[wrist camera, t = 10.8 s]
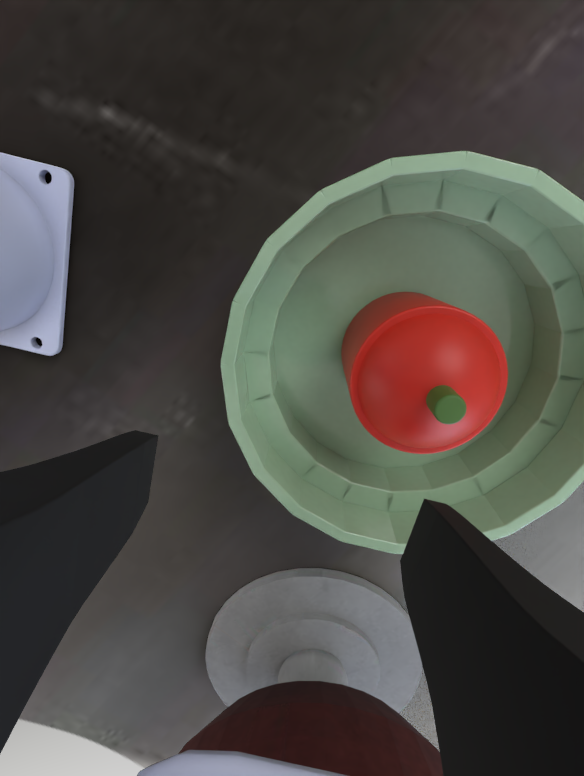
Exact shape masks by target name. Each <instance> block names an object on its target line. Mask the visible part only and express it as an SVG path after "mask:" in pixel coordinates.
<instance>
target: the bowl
mask: <svg viewBox="0 0 584 776" xmlns="http://www.w3.org/2000/svg"><path fill="white" fill-rule="evenodd" d="M395 292H416V293H421V294H424V295H427V296H430V297H432V298H435V299H437V300H440V301H442V302H445V303H447V304H450V305H452V306H455V307H458V308H460V309H463V310H465V311H467V312H469V313H471V314H473V315H475V316H476V317H478V318H479V319H481V320H482V321H483V322H484V323H486V324H487V325H488V326H489V327H490V328H491V329H492V331H493V332H494V333H495V334H496V336H497V338H498V339H499V341H500V343H501V345H502V347H503V350H504V352H505V356H506V360H507V367H508V382H507V388H506V393H505V396H504V399H503V402H502V404H501V406H500V408H499V410H498V412H497V413H496V415H495V416H494V418H493V419H492V420H491V422H490V423H489V424H488V425H487V426H486V427H485V428H484V429H483V430H482V431H481V432H480V433H479V434H478V435H476V436H475V437H474V438H472V439H471V440H469V441H468V442H466V443H464V444H462V445H460V446H458V447H456V448H453V449H450V450H447V451H444V452H439V453H433V454H413V453H408V452H403V451H399V450H396V449H393V448H391V447H389V446H387V445H385V444H383V443H382V442H380V441H378V440H377V439H376V438H375V437H373V436H372V435H371V434H370V433H369V432H368V431H367V430H366V429H365V428H364V426H363V425H362V424H361V422H360V421H359V419H358V417H357V415H356V413H355V411H354V408H353V405H352V402H351V398H350V394H349V390H348V386H347V382H346V378H345V373H344V369H343V365H342V356H341V351H342V343H343V338H344V335H345V333H346V330H347V328H348V326H349V324H350V323H351V321H352V320H353V318H354V317H355V316H356V314H357V313H358V312H359V311H360V310H361V309H362V308H363V307H365V306H366V305H367V304H369V303H370V302H372V301H373V300H375V299H377V298H379V297H381V296H384V295H387V294H391V293H395ZM220 367H221V374H222V381H223V389H224V396H225V404H226V411H227V418H228V423H229V426H230V428H231V430H232V432H233V434H234V436H235V438H236V440H237V442H238V444H239V446H240V448H241V450H242V452H243V454H244V457H245V459H246V461H247V463H248V465H249V467H250V469H251V471H252V473H253V474H254V476H255V477H256V478H257V479H258V480H259V481H260V482H261V483H262V484H263V485H264V486H265V487H266V488H267V489H268V490H269V491H270V492H271V493H272V494H273V495H274V496H275V497H276V498H277V500H278V501H279V502H280V503H281V504H282V505H283V506H284V507H285V508H286V509H287V510H288V511H289V512H290V513H291V514H293V515H294V516H296V517H297V518H299V519H301V520H303V521H305V522H306V523H308V524H310V525H312V526H314V527H315V528H317V529H319V530H321V531H323V532H324V533H326V534H328V535H330V536H332V537H333V538H335V539H337V540H339V541H341V542H345V543H349V544H353V545H357V546H362V547H366V548H370V549H375V550H379V551H383V552H388V553H392V554H403V553H404V550H405V547H406V545H407V542H408V539H409V537H410V534H411V532H412V529H413V526H414V524H415V521H416V518H417V516H418V513H419V511H420V508H421V505H422V503H423V500H424V499H428V500H432V501H437V502H441V503H445V504H447V505H449V506H450V507H452V508H453V509H455V510H456V511H457V512H458V513H460V514H461V515H462V516H463V517H464V518H466V519H467V520H468V521H469V522H470V523H471V524H473V525H474V526H475V527H476V528H477V529H478V530H480V531H481V532H482V533H483V534H484V535H485V536H486V537H488V538H489V539H490V540H491V541H492V540H496V539H499V538H502V537H506V536H509V535H510V534H513V533H514V532H516V531H518V530H519V529H521V528H523V527H524V526H526V525H527V524H529V523H531V522H532V521H534V520H536V519H537V518H539V517H541V516H542V515H544V514H546V513H547V512H549V511H550V510H552V509H554V508H555V507H557V506H559V505H560V504H562V502H564V501H565V500H566V499H567V498H568V497H569V496H570V495H571V494H572V493H573V492H574V491H575V490H576V489H577V487H578V486H579V485H580V484H581V483H582V482H583V481H584V201H583V200H581V199H580V198H578V197H577V196H576V195H574V194H573V193H572V192H570V191H569V190H567V189H566V188H565V187H563V186H562V185H560V184H559V183H558V182H556V181H555V180H553V179H552V178H551V177H549V176H548V175H547V174H545V173H544V172H542V171H541V170H538V169H537V168H533V167H529V166H525V165H521V164H518V163H514V162H510V161H506V160H502V159H498V158H494V157H490V156H486V155H483V154H479V153H475V152H471V151H454V152H444V153H434V154H424V155H414V156H404V157H394V158H390V159H386V160H384V161H382V162H380V163H378V164H375V165H373V166H371V167H369V168H367V169H364V170H362V171H360V172H358V173H356V174H354V175H351V176H349V177H347V178H345V179H343V180H340V181H338V182H336V183H334V184H332V185H329V186H327V187H325V188H323V189H321V191H318V192H317V193H316V194H315V195H314V196H313V197H312V198H311V199H310V200H308V201H307V202H306V203H305V204H304V205H303V206H302V207H301V208H300V209H299V210H298V211H297V212H296V213H294V214H293V215H292V216H291V217H290V218H289V219H288V220H287V221H286V222H285V223H284V224H283V225H281V226H280V227H279V228H278V229H277V230H276V231H275V232H274V233H273V234H272V235H271V236H270V237H269V238H267V241H265V242H264V244H263V246H262V248H261V250H260V251H259V253H258V255H257V257H256V259H255V260H254V262H253V264H252V266H251V268H250V269H249V271H248V273H247V275H246V277H245V278H244V280H243V282H242V284H241V286H240V287H239V289H238V291H237V293H236V295H235V296H234V298H233V301H232V304H231V309H230V315H229V320H228V325H227V330H226V336H225V341H224V346H223V351H222V356H221V365H220Z"/></svg>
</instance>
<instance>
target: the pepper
mask: <svg viewBox="0 0 584 776" xmlns="http://www.w3.org/2000/svg"><path fill="white" fill-rule="evenodd" d="M341 356H342V365H343V369H344V373H345V378H346V382H347V386H348V390H349V394H350V398H351V402H352V405H353V408H354V411H355V413H356V415H357V417H358V419H359V421H360V422H361V424H362V425H363V426H364V428H365V429H366V430H367V431H368V432H369V433H370V434H371V435H372V436H373V437H375V438H376V439H377V440H378V441H380V442H382V443H383V444H385V445H387V446H389V447H391V448H393V449H396V450H399V451H403V452H408V453H413V454H433V453H439V452H444V451H447V450H450V449H453V448H456V447H458V446H460V445H462V444H464V443H466V442H468V441H469V440H471V439H472V438H474V437H475V436H476V435H478V434H479V433H480V432H481V431H482V430H483V429H484V428H485V427H486V426H487V425H488V424H489V423H490V422H491V420H492V419H493V418H494V416H495V415H496V413H497V412H498V410H499V408H500V406H501V404H502V402H503V399H504V396H505V393H506V388H507V382H508V367H507V360H506V356H505V352H504V350H503V347H502V345H501V343H500V341H499V339H498V338H497V336H496V334H495V333H494V332H493V331H492V329H491V328H490V327H489V326H488V325H487V324H486V323H484V322H483V321H482V320H481V319H479V318H478V317H476V316H475V315H473V314H471V313H469V312H467V311H465V310H463V309H460V308H458V307H455V306H452V305H450V304H447V303H445V302H442V301H440V300H437V299H435V298H432V297H430V296H427V295H424V294H421V293H416V292H395V293H391V294H387V295H384V296H381V297H379V298H377V299H375V300H373V301H372V302H370V303H369V304H367V305H366V306H365V307H363V308H362V309H361V310H360V311H359V312H358V313H357V314H356V316H355V317H354V318H353V320H352V321H351V323H350V324H349V326H348V328H347V330H346V333H345V335H344V338H343V343H342V351H341Z"/></svg>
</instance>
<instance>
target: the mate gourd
mask: <svg viewBox="0 0 584 776" xmlns="http://www.w3.org/2000/svg"><path fill="white" fill-rule="evenodd" d="M205 658H206V665H207V672H208V675H209V678H210V680H211V683H212V685H213V688H214V689H215V691H216V692H217V694H218V695H219V697H220V698H221V700H222V701H223V702H224V703H225V704H226V705H227V706H228V708H227V709H226V710H224V711H223V712H222V713H221V714H220V715H219V716H217V717H216V718H215V719H214V720H213V721H212V722H211V723H209V724H208V725H207V726H206V727H205V728H204V729H202V730H201V731H200V732H199V733H198V734H197V735H196V736H194V737H193V738H192V739H191V740H190V741H189V742H187V743H186V745H185V746H184V747H183V748H182V750H181V751H180V752H179V754H180V753H182V752H185V751H187V750H212V751H238V752H242V753H247V754H252V755H256V756H261V757H265V758H270V759H274V760H279V761H284V762H288V763H293V764H297V765H302V766H306V767H311V768H315V769H320V770H325V771H329V772H334V773H338V774H343V775H347V776H443V770H442V763H441V756H440V752H439V751H438V750H437V749H436V748H435V747H434V746H433V745H432V744H431V743H430V742H429V741H428V740H427V739H426V738H425V737H423V736H422V735H421V734H420V733H419V732H418V731H417V730H416V729H415V728H414V727H413V726H412V725H411V724H409V723H408V722H407V721H406V720H405V719H404V718H403V717H402V716H401V715H400V714H399V713H400V712H401V711H402V710H403V709H404V708H405V707H406V706H407V705H408V704H409V702H410V700H411V699H412V697H413V696H414V694H415V692H416V691H417V688H418V685H419V682H420V679H421V676H422V661H421V658H420V654H419V650H418V647H417V643H416V639H415V635H414V632H413V628H412V624H411V620H410V617H409V615H408V614H407V613H406V611H405V610H404V609H403V608H402V607H401V605H400V604H399V603H398V602H397V601H396V600H395V599H394V598H393V597H391V596H390V595H389V594H388V593H387V592H385V591H384V590H383V589H382V588H380V587H378V586H376V585H374V584H372V583H371V582H369V581H367V580H365V579H363V578H360V577H357V576H354V575H351V574H348V573H345V572H342V571H336V570H329V569H323V568H296V569H290V570H285V571H279V572H275V573H272V574H269V575H266V576H264V577H261V578H258V579H256V580H254V581H252V582H251V583H249V584H247V585H246V586H244V587H242V588H240V589H239V590H238V591H237V592H236V593H235V594H233V595H232V596H231V597H230V598H229V599H228V600H227V601H226V602H225V603H224V605H223V606H222V608H221V609H220V610H219V612H218V613H217V615H216V616H215V619H214V622H213V624H212V627H211V629H210V632H209V636H208V639H207V647H206V655H205Z"/></svg>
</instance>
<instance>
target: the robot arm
mask: <svg viewBox="0 0 584 776" xmlns="http://www.w3.org/2000/svg"><path fill="white" fill-rule="evenodd" d="M47 172H50V174H51V176H52V180H51V183H49V184H47V182H46V181H45V175H46V173H47ZM73 196H74V179H73V177H72V174H71V173H70V172H69V171H68V170H65V169H63V168H60V167H57V166H53V165H49V164H45V163H41V162H37V161H33V160H29V159H25V158H21V157H17V156H13V155H9V154H5V153H1V152H0V344H1V345H5V346H9V347H13V348H18V349H22V350H26V351H30V352H34V353H38V354H43V355H47V356H52V355H55V354H57V353H59V352H60V351H61V350H62V346H63V333H64V319H65V305H66V292H67V278H68V264H69V251H70V237H71V223H72V210H73ZM37 337H38V338H40V340H41V341H42V347H41V346H39V345H38V344H37V342H36V338H37ZM157 441H158V436H157V435H153V434H149V433H145V432H140V431H136V430H135V431H131V432H127V433H124V434H121V435H119V436H116V437H113V438H110V439H108V440H105V441H102V442H100V443H97V444H94V445H91V446H88V447H86V448H83V449H80V450H77V451H74V452H71V453H68V454H65V455H62V456H59V457H55V458H52V459H49V460H46V461H43V462H39V463H36V464H32V465H29V466H25V467H21V468H17V469H13V470H8V471H4V472H0V753H1V751H2V749H3V747H4V745H5V743H6V742H7V740H8V738H9V736H10V734H11V732H12V730H13V728H14V726H15V724H16V722H17V720H18V718H19V716H20V714H21V713H22V711H23V709H24V707H25V705H26V703H27V701H28V700H29V698H30V696H31V694H32V692H33V690H34V688H35V687H36V685H37V683H38V681H39V679H40V677H41V676H42V674H43V672H44V670H45V668H46V666H47V664H48V663H49V661H50V659H51V657H52V656H53V654H54V652H55V650H56V648H57V647H58V645H59V643H60V641H61V640H62V638H63V636H64V634H65V632H66V631H67V629H68V627H69V625H70V624H71V622H72V620H73V619H74V617H75V616H76V614H77V613H78V611H79V609H80V608H81V606H82V605H83V603H84V602H85V601H86V599H87V598H88V596H89V595H90V593H91V592H92V591H93V589H94V588H95V586H96V585H97V583H98V582H99V581H100V579H101V578H102V576H103V575H104V573H105V572H106V571H107V569H108V568H109V566H110V565H111V563H112V562H113V561H114V559H115V558H116V556H117V555H118V553H119V552H120V550H121V549H122V548H123V546H124V545H125V543H126V542H127V540H128V539H129V537H130V536H131V534H132V533H133V531H134V529H135V527H136V525H137V523H138V521H139V519H140V517H141V515H142V513H143V511H144V509H145V507H146V505H147V503H148V499H149V493H150V486H151V480H152V473H153V467H154V460H155V454H156V447H157ZM400 563H401V572H402V582H403V589H404V596H405V601H406V605H407V609H408V613H409V616H410V620H411V624H412V628H413V632H414V635H415V639H416V643H417V647H418V650H419V654H420V658H421V661H422V665H423V669H424V673H425V676H426V680H427V684H428V688H429V693H430V697H431V702H432V707H433V713H434V719H435V725H436V731H437V737H438V743H439V749H440V756H441V763H442V770H443V776H584V613H583V612H582V611H581V610H579V609H578V608H576V607H575V606H573V605H572V604H571V603H569V602H568V601H566V600H565V599H563V598H562V597H561V596H559V595H558V594H556V593H555V592H554V591H552V590H551V589H550V588H548V587H547V586H546V585H544V584H543V583H542V582H541V581H539V580H538V579H537V578H535V577H534V576H533V575H532V574H530V573H529V572H528V571H527V570H525V569H524V568H523V567H522V566H520V565H519V564H518V563H517V562H516V561H514V560H513V559H512V558H511V557H510V556H508V555H507V554H506V553H505V552H504V551H503V550H501V549H500V548H499V547H498V546H497V545H496V544H494V543H493V542H492V541H491V540H490V539H489V538H488V537H486V536H485V535H484V534H483V533H482V532H481V531H480V530H478V529H477V528H476V527H475V526H474V525H473V524H471V523H470V522H469V521H468V520H467V519H466V518H464V517H463V516H462V515H461V514H460V513H458V512H457V511H456V510H455V509H453V508H452V507H450V506H449V505H447V504H445V503H441V502H437V501H432V500H428V499H424V500H423V503H422V505H421V508H420V511H419V513H418V516H417V518H416V521H415V524H414V526H413V529H412V532H411V534H410V537H409V539H408V542H407V545H406V547H405V550H404V553H403V555H402V558H401V560H400ZM137 776H347V775H343V774H338V773H334V772H329V771H325V770H320V769H315V768H311V767H306V766H302V765H297V764H293V763H288V762H284V761H279V760H274V759H270V758H265V757H261V756H256V755H252V754H247V753H242V752H238V751H212V750H187V751H185V752H182V753H180V754H177V755H175V756H173V757H170V758H168V759H165V760H163V761H160V762H158V763H155V764H153V765H150V766H149V767H147V768H145V769H143V770H142V771H140V772H139V773H138V775H137Z"/></svg>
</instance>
